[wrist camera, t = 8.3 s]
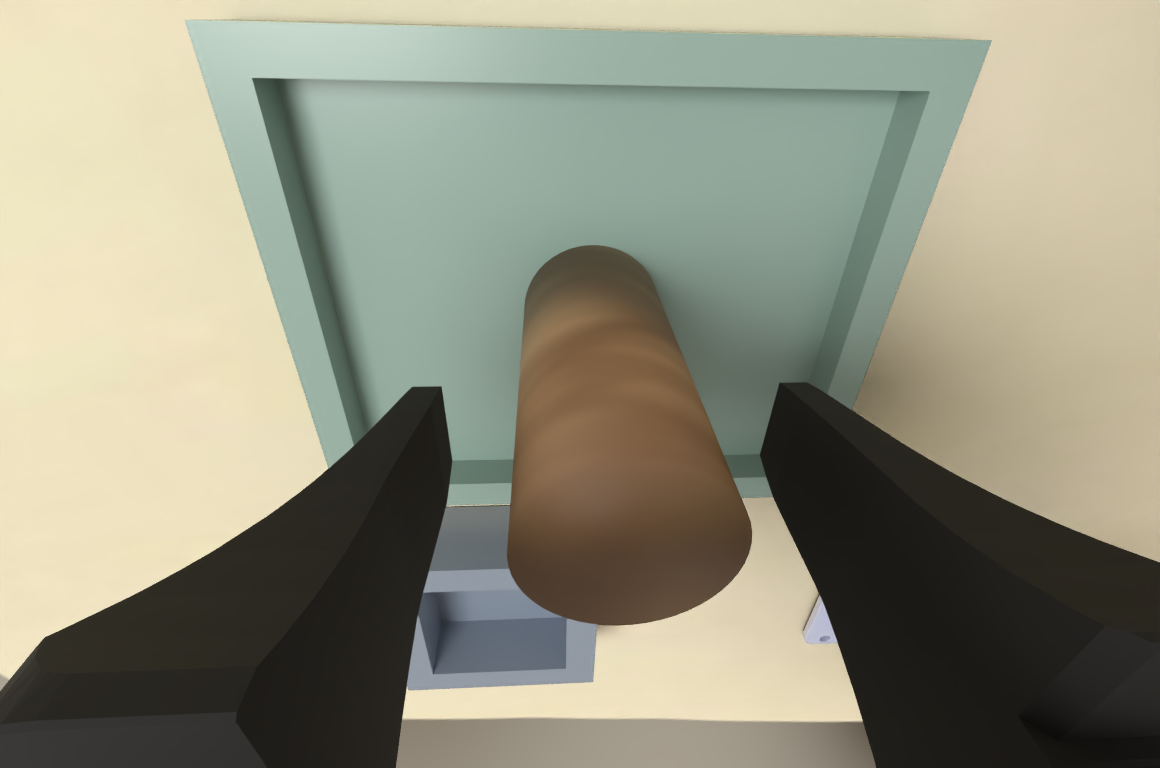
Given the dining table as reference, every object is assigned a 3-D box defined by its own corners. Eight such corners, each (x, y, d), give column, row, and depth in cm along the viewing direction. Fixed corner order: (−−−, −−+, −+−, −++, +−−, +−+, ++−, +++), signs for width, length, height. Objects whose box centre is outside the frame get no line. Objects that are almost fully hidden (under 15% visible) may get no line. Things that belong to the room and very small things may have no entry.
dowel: (666, 247, 15) (780, 464, 8) (648, 367, 18) (724, 623, 10) (524, 242, 15) (503, 462, 8) (524, 364, 17) (508, 627, 10)
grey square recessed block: (594, 503, 22) (601, 565, 19) (588, 619, 26) (592, 681, 24) (392, 508, 21) (372, 573, 19) (421, 625, 26) (408, 690, 23)
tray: (941, 38, 13) (991, 40, 12) (800, 462, 21) (819, 496, 20) (228, 19, 12) (184, 20, 11) (356, 471, 20) (341, 508, 19)
